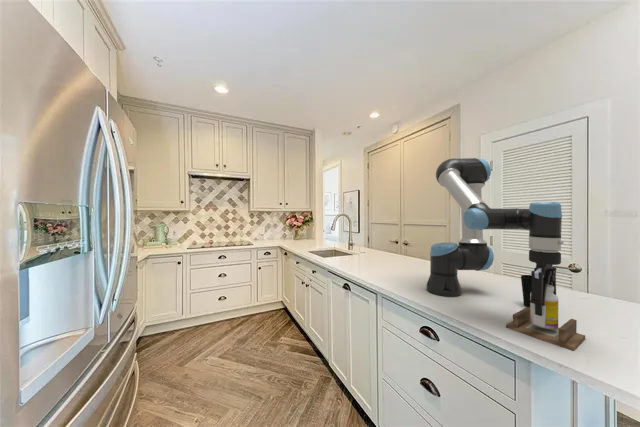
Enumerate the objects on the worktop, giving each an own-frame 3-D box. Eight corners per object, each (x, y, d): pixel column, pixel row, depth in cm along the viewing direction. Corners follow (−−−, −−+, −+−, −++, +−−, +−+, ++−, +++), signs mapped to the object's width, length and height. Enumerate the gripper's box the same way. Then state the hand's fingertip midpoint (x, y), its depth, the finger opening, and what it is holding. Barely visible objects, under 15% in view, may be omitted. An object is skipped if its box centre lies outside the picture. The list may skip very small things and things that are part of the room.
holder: (505, 327, 81) (506, 312, 81) (520, 318, 87) (520, 305, 87) (573, 350, 67) (573, 332, 67) (585, 338, 74) (585, 322, 74)
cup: (550, 311, 94) (551, 280, 94) (528, 309, 96) (528, 279, 95) (537, 303, 102) (537, 275, 101) (516, 302, 103) (516, 274, 103)
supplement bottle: (564, 331, 73) (564, 289, 73) (538, 328, 75) (538, 287, 75) (548, 321, 80) (549, 282, 80) (525, 319, 82) (525, 281, 81)
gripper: (549, 255, 69) (548, 335, 69) (570, 249, 79) (569, 319, 79) (517, 251, 75) (516, 325, 75) (540, 246, 86) (539, 311, 86)
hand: (543, 322), depth 77 cm, fingers closed on supplement bottle, 7 cm apart
